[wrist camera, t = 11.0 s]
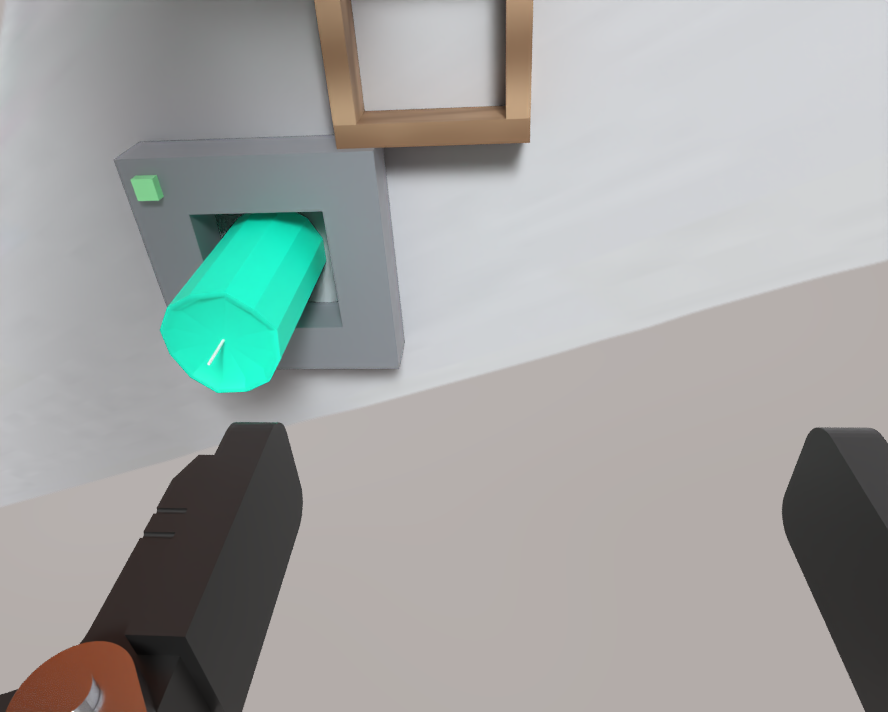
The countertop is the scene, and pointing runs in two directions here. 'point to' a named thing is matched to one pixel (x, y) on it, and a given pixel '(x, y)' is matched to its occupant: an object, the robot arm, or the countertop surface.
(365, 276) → the frame
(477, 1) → the countertop surface
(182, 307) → the candle
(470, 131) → the holder ring
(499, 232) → the countertop surface
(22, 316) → the countertop surface
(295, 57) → the countertop surface
